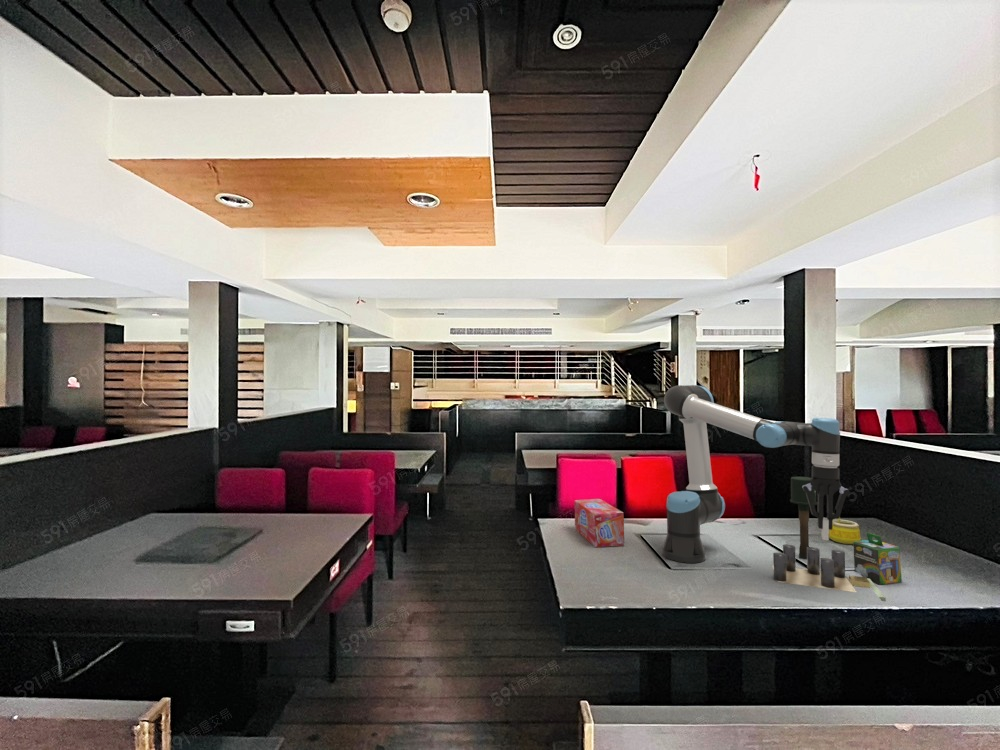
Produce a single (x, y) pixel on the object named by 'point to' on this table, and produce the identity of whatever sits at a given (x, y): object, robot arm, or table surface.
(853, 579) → the tan wooden tile
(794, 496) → the potato masher grenade
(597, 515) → the box
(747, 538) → the table surface
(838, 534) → the mug
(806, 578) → the board
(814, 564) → the spacers
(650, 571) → the table surface
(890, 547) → the chalk box
